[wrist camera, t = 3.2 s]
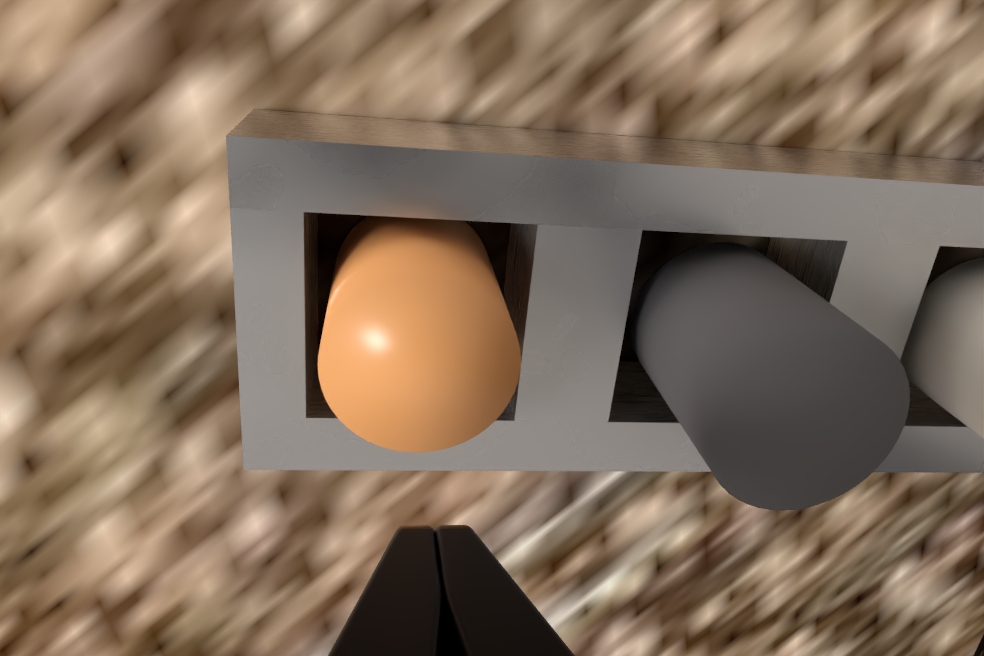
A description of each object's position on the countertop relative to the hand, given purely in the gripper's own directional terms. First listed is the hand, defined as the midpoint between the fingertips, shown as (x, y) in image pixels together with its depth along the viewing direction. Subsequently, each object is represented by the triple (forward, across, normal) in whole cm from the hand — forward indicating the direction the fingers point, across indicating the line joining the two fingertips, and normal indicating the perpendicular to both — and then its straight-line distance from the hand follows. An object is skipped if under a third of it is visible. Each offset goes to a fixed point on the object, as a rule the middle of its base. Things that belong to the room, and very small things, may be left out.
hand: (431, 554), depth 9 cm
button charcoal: (+8, -7, 0) cm, 10 cm away
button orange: (+9, 0, 0) cm, 9 cm away
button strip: (+10, -7, 0) cm, 12 cm away
